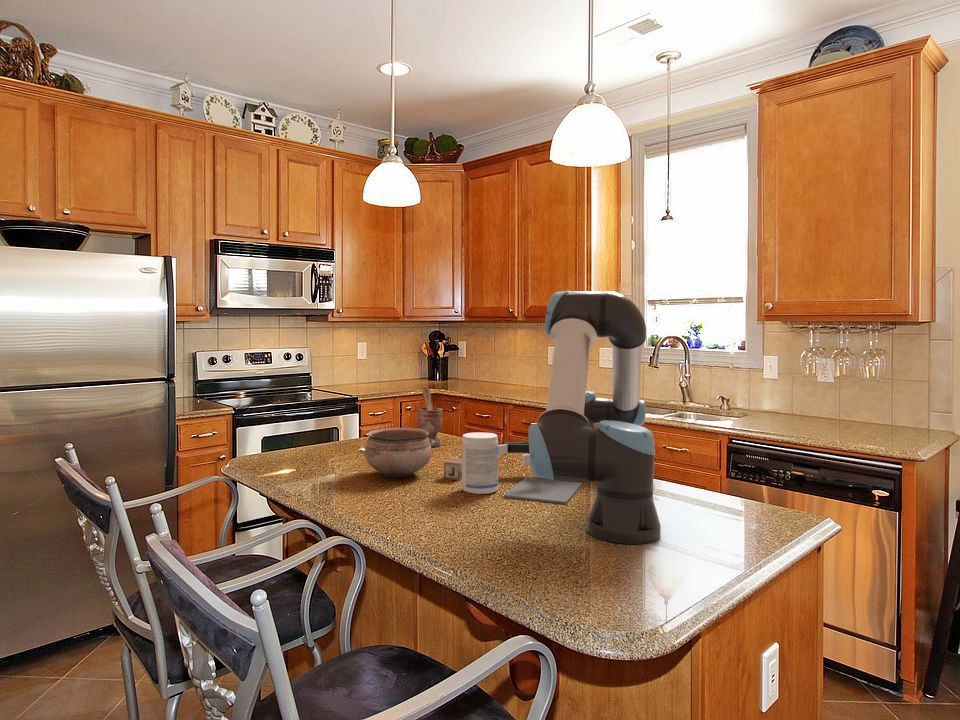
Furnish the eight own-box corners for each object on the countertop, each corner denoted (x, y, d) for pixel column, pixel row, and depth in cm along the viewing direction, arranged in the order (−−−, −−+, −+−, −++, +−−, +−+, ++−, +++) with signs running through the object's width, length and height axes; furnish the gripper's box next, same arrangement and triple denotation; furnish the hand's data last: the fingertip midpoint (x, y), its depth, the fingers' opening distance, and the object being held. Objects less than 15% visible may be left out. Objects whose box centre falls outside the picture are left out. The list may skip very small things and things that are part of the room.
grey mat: (566, 504, 159) (566, 501, 159) (503, 497, 164) (504, 494, 164) (582, 485, 178) (582, 482, 178) (525, 479, 183) (525, 477, 183)
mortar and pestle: (408, 443, 233) (409, 388, 231) (428, 441, 238) (429, 386, 237) (426, 448, 223) (426, 391, 222) (446, 446, 229) (447, 389, 227)
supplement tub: (505, 492, 169) (506, 436, 168) (474, 497, 164) (475, 439, 163) (484, 483, 177) (485, 430, 176) (454, 488, 172) (455, 433, 171)
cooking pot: (378, 489, 170) (379, 443, 170) (342, 475, 185) (342, 433, 184) (453, 475, 187) (453, 433, 186) (414, 463, 201) (415, 424, 200)
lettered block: (459, 481, 180) (459, 463, 180) (443, 479, 182) (443, 461, 182) (466, 476, 185) (467, 459, 185) (450, 475, 187) (450, 458, 187)
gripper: (592, 467, 181) (537, 478, 167) (529, 452, 200) (476, 461, 186) (592, 440, 180) (538, 449, 166) (530, 428, 199) (476, 435, 186)
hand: (505, 455), depth 176 cm, fingers open, 13 cm apart
